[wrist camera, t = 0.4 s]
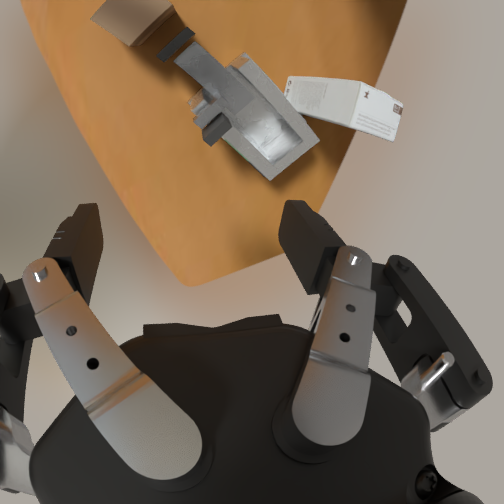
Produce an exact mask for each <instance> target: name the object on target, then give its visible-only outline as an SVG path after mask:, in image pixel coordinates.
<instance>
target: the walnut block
mask: <svg viewBox="0 0 504 504" xmlns="http://www.w3.org/2000/svg"><path fill="white" fill-rule="evenodd" d="M175 12H176V10H175V8H174V6H173V4H171V3H170V2H169V1H167V0H106V2H105V3H104V4H103V5H102V6H101V7H100V8H99V9H98V10H97V11H96V12H95V14H94V15H93V16H92V17H91V18H90V20H92V21H93V22H95V23H96V24H98V25H99V26H101V27H102V28H104V29H105V30H107V31H108V32H110V33H111V34H112V35H114V36H115V37H117V38H118V39H119V40H121V41H122V42H124V43H125V44H126V45H128V46H138V45H142V43H143V42H144V41H145V40H146V39H147V38H148V37H149V36H150V35H151V34H152V33H153V32H154V31H155V30H157V29H158V28H159V27H160V26H161V25H162V24H163V23H164V22H165V21H166V20H167V19H168V18H169V17H171V16H172V15H173V14H174V13H175Z"/></svg>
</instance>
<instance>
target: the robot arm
mask: <svg viewBox="0 0 504 504" xmlns="http://www.w3.org/2000/svg"><path fill="white" fill-rule="evenodd" d="M278 236H279V242H280V245H281V247H282V248H283V250H284V252H285V254H286V256H287V257H288V259H289V261H290V263H291V265H292V267H293V269H294V270H295V272H296V274H297V276H298V278H299V280H300V282H301V283H302V285H303V287H304V289H305V291H306V292H307V295H312V294H319V295H320V298H319V300H318V302H317V305H316V308H315V311H314V314H313V317H312V320H311V323H310V326H309V328H308V330H306V329H304V328H301V327H298V326H294V325H289V324H283V323H282V321H281V318H280V316H279V314H274V315H265V316H256V317H247V318H244V319H241V320H238V321H235V322H232V323H229V324H225V325H222V326H219V327H214V328H210V327H203V326H195V325H188V324H180V323H168V324H146V325H143V335H142V336H138V337H135V338H133V339H130V340H128V341H126V342H125V343H123V344H121V345H120V346H118V345H117V344H116V343H115V341H114V340H113V339H112V337H111V336H110V335H109V334H108V332H107V331H106V330H105V328H104V327H103V326H102V324H101V323H100V322H99V321H98V319H97V318H96V316H95V315H94V314H93V312H92V311H91V309H90V308H89V303H90V298H91V294H92V290H93V285H94V281H95V277H96V273H97V269H98V265H99V262H100V258H101V254H102V251H103V234H102V229H101V222H100V216H99V210H98V205H97V204H96V203H89V204H79V206H78V207H77V209H76V211H75V213H74V214H73V216H72V217H68V218H67V219H66V220H64V221H63V222H62V223H61V224H60V226H59V227H58V229H57V231H56V233H55V235H54V237H53V239H52V240H51V242H50V244H49V246H48V248H47V250H46V252H45V254H44V256H43V258H40V259H37V260H35V261H33V262H32V263H30V264H29V265H28V266H27V267H26V269H25V270H24V272H23V275H22V278H21V279H18V280H15V281H12V282H8V283H6V282H5V280H4V278H3V276H2V274H0V489H1V490H4V491H7V492H11V493H19V492H23V493H26V494H30V495H34V496H36V497H37V499H38V501H39V502H40V504H484V503H483V502H482V501H481V500H480V499H479V498H478V497H477V496H475V495H474V494H472V493H470V492H467V491H465V490H462V489H460V488H458V487H456V486H455V485H453V484H451V483H450V482H448V481H447V480H445V479H444V478H443V477H442V476H441V475H440V474H439V473H438V471H437V470H436V468H435V465H434V462H433V457H432V451H431V442H430V432H435V431H438V430H439V429H441V428H442V427H444V426H445V425H447V424H448V423H450V422H452V421H453V420H454V419H456V418H457V417H459V416H460V415H461V414H463V413H464V412H466V411H467V410H468V409H470V408H471V407H473V406H474V405H475V404H476V403H478V402H479V401H480V400H481V399H483V398H484V397H485V396H487V395H488V394H489V393H490V392H491V390H492V386H493V382H492V377H491V374H490V372H489V370H488V368H487V366H486V365H485V363H484V361H483V360H482V358H481V356H480V355H479V353H478V352H477V350H476V348H475V347H474V345H473V344H472V342H471V341H470V339H469V337H468V336H467V334H466V333H465V331H464V330H463V328H462V327H461V326H460V324H459V323H458V321H457V320H456V318H455V317H454V315H453V314H452V313H451V311H450V310H449V309H448V307H447V306H446V304H445V303H444V302H443V300H442V299H441V298H440V296H439V295H438V294H437V293H436V291H435V290H434V289H433V287H432V286H431V285H430V283H429V282H428V281H427V280H426V279H425V277H424V276H423V275H422V273H421V272H420V271H419V270H418V269H417V268H416V266H415V265H414V264H413V263H412V262H411V261H410V260H408V259H407V258H405V257H402V256H399V255H392V256H390V257H389V259H388V261H387V263H386V265H384V264H379V263H373V262H372V259H371V258H370V256H369V255H368V254H367V253H366V252H364V251H363V250H361V249H359V248H357V247H354V246H347V245H346V244H345V243H344V242H343V240H342V239H341V238H340V237H339V236H338V234H337V233H336V232H335V231H333V228H332V227H331V226H330V225H329V224H328V223H327V221H326V220H325V219H324V218H323V217H322V216H320V215H319V214H317V213H316V212H314V211H313V210H312V209H311V208H310V207H309V206H308V204H307V203H306V202H305V201H303V200H287V201H286V202H285V205H284V209H283V214H282V218H281V223H280V227H279V234H278ZM402 300H403V301H404V303H405V304H406V306H407V307H408V308H409V310H410V312H411V315H412V320H411V324H410V325H409V326H408V327H407V326H406V324H405V323H404V321H403V320H402V318H401V316H400V315H399V313H398V312H397V310H396V309H397V308H398V306H399V304H400V303H401V301H402ZM373 331H374V333H375V335H376V336H377V338H378V340H379V342H380V344H381V346H382V348H383V349H384V351H385V353H386V355H387V357H388V359H389V361H390V363H391V365H392V367H393V368H394V371H395V372H396V374H397V376H398V379H399V381H400V383H401V387H400V386H398V385H396V384H395V383H393V382H391V381H390V380H388V379H386V378H385V377H383V376H381V375H380V374H378V373H376V372H375V371H373V370H372V369H370V368H368V364H369V357H370V350H371V343H372V334H373ZM40 336H44V338H45V340H46V342H47V344H48V346H49V348H50V350H51V352H52V354H53V356H54V358H55V360H56V362H57V364H58V366H59V367H60V369H61V371H62V372H63V374H64V376H65V378H66V380H67V381H68V383H69V385H70V386H71V388H72V389H73V391H74V393H75V396H74V397H73V398H72V399H71V401H70V402H69V403H68V404H67V405H66V407H65V408H64V409H63V410H62V412H61V413H60V414H59V415H58V417H57V418H56V419H55V420H54V422H53V423H52V424H51V425H50V427H49V428H48V429H47V430H46V432H45V433H44V434H43V436H42V437H41V438H40V439H39V441H38V442H37V443H36V445H35V447H34V444H33V443H32V441H31V436H30V433H29V430H28V429H27V427H26V426H25V425H24V424H23V418H24V401H25V389H26V381H27V373H28V366H29V360H30V353H31V347H32V343H33V339H34V338H37V337H40Z"/></svg>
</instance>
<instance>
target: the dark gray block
mask: <svg viewBox="0 0 504 504" xmlns="http://www.w3.org/2000/svg"><path fill="white" fill-rule="evenodd" d="M231 128H232V125H231V123H230V121H229V118H228V117H227V116H225V115H224V114H223V113H222V112H221V113H219V114H218V115H217V116H216V117H215V118H214V119H213V120H212V121H211V122H210V123H209V124H208V125H207V126H206V127H204V128H203V129H202V136H203V140H204V141H205V142H206V143H207V144H208V145H210V146H212V145H213V144H214V143H215V142H217V141H218V140H219V139H220V138H221V137H222V136H223V135H224V134H225V133H226V132H227V131H229V130H230V129H231Z"/></svg>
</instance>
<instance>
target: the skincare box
mask: <svg viewBox="0 0 504 504" xmlns="http://www.w3.org/2000/svg"><path fill="white" fill-rule="evenodd" d="M284 95H285V96H286V99H287V100H288V101H289V102H290V103H291V105H292V106H293V107H294V108H295V109H296V111H297V112H298V113H299V114H302V115H306V116H309V117H313V118H317V119H321V120H324V121H328V122H331V123H335V124H338V125H342V126H345V127H348V128H352V129H355V130H358V131H361V132H365V133H367V134H371V135H374V136H377V137H380V138H382V139H385V140H388V141H391V142H394V139H395V136H396V133H397V129H398V125H399V121H400V117H401V113H402V109H403V103H401V102H399V101H398V100H396V99H394V98H392V97H390V96H389V95H388V94H387V93H385V92H383V91H380V90H378V89H376V88H374V87H372V86H370V85H368V84H365V83H363V82H361V81H354V80H346V79H334V78H321V77H304V76H289V77H288V80H287V85H286V87H285V92H284Z"/></svg>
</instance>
